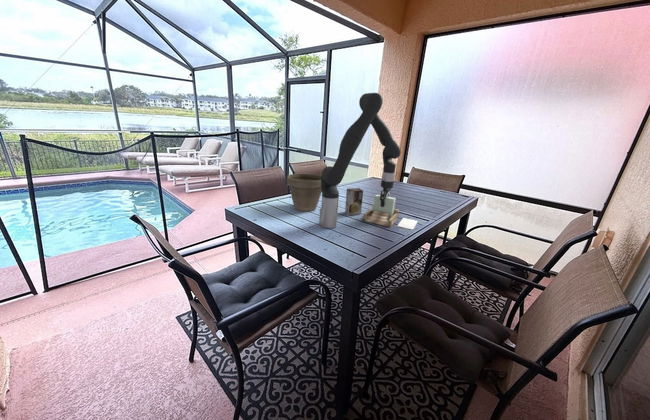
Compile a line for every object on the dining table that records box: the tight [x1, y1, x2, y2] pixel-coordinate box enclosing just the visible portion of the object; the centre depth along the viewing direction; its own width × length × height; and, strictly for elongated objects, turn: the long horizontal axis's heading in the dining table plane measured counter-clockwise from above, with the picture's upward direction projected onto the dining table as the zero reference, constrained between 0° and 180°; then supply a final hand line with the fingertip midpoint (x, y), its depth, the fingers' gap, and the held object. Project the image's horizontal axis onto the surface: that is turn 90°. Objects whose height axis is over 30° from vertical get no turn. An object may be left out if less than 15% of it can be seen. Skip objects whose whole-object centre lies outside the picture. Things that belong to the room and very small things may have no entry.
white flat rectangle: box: [396, 217, 418, 231], centre depth 152 cm, size 9×16×1 cm, turn 151°
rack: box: [362, 203, 400, 228], centre depth 156 cm, size 17×17×6 cm
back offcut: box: [373, 211, 389, 221], centre depth 155 cm, size 9×3×5 cm, turn 61°
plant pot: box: [286, 172, 322, 212], centre depth 166 cm, size 25×25×22 cm
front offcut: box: [371, 214, 387, 220], centre depth 152 cm, size 9×3×4 cm, turn 56°
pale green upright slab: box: [373, 194, 397, 221], centre depth 157 cm, size 12×4×14 cm, turn 61°
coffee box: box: [344, 187, 364, 216], centre depth 162 cm, size 9×6×16 cm
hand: (384, 205), depth 157 cm, fingers open, 8 cm apart
